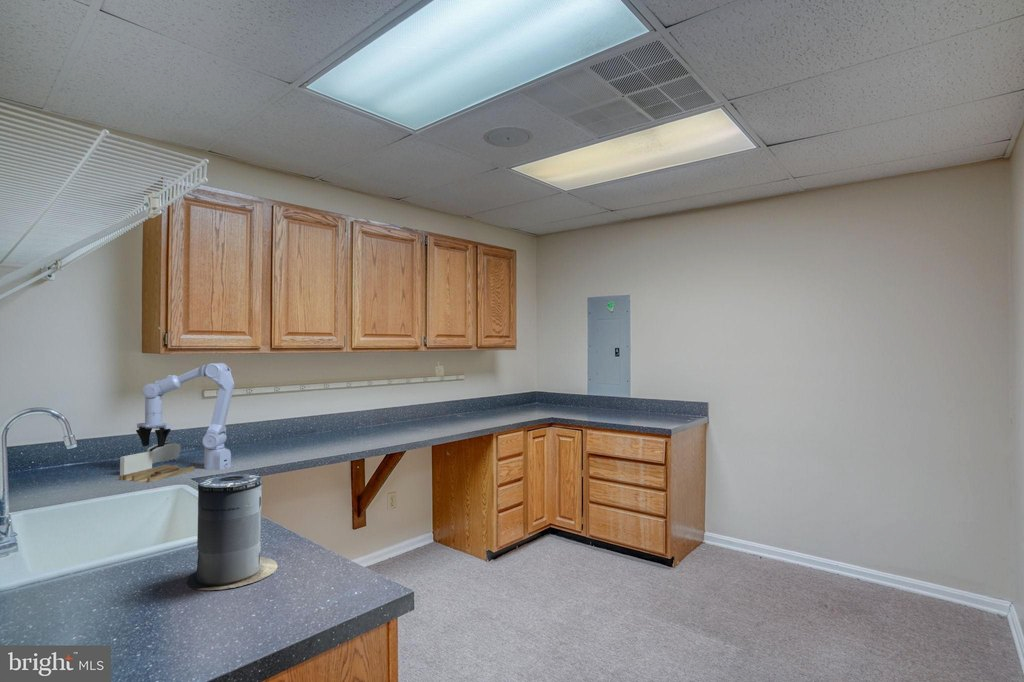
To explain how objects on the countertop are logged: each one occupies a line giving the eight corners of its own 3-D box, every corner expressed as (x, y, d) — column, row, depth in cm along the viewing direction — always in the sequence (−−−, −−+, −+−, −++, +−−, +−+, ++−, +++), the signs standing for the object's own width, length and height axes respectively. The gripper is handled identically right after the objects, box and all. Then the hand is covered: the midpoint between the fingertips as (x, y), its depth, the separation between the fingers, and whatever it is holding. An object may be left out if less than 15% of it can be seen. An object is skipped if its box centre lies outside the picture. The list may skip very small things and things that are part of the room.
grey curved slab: (168, 458, 239) (175, 437, 239) (177, 462, 239) (184, 441, 238) (137, 466, 223) (144, 444, 223) (146, 470, 222) (153, 448, 222)
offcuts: (180, 472, 207) (180, 467, 207) (158, 478, 197) (158, 473, 197) (172, 472, 208) (172, 467, 208) (149, 478, 198) (149, 472, 198)
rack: (194, 472, 211) (194, 465, 211) (149, 484, 192) (149, 477, 192) (166, 470, 214) (166, 464, 215) (119, 482, 195) (119, 475, 195)
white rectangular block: (152, 471, 214) (152, 451, 214) (124, 477, 202) (124, 457, 202) (148, 470, 214) (148, 451, 214) (119, 477, 203) (120, 457, 203)
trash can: (286, 554, 125) (285, 466, 125) (263, 587, 108) (262, 485, 108) (210, 560, 122) (209, 470, 123) (174, 595, 105) (173, 490, 105)
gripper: (130, 413, 211) (129, 447, 210) (159, 414, 207) (159, 448, 207) (145, 411, 218) (145, 444, 217) (174, 412, 214) (174, 445, 214)
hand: (153, 446), depth 213 cm, fingers open, 7 cm apart
